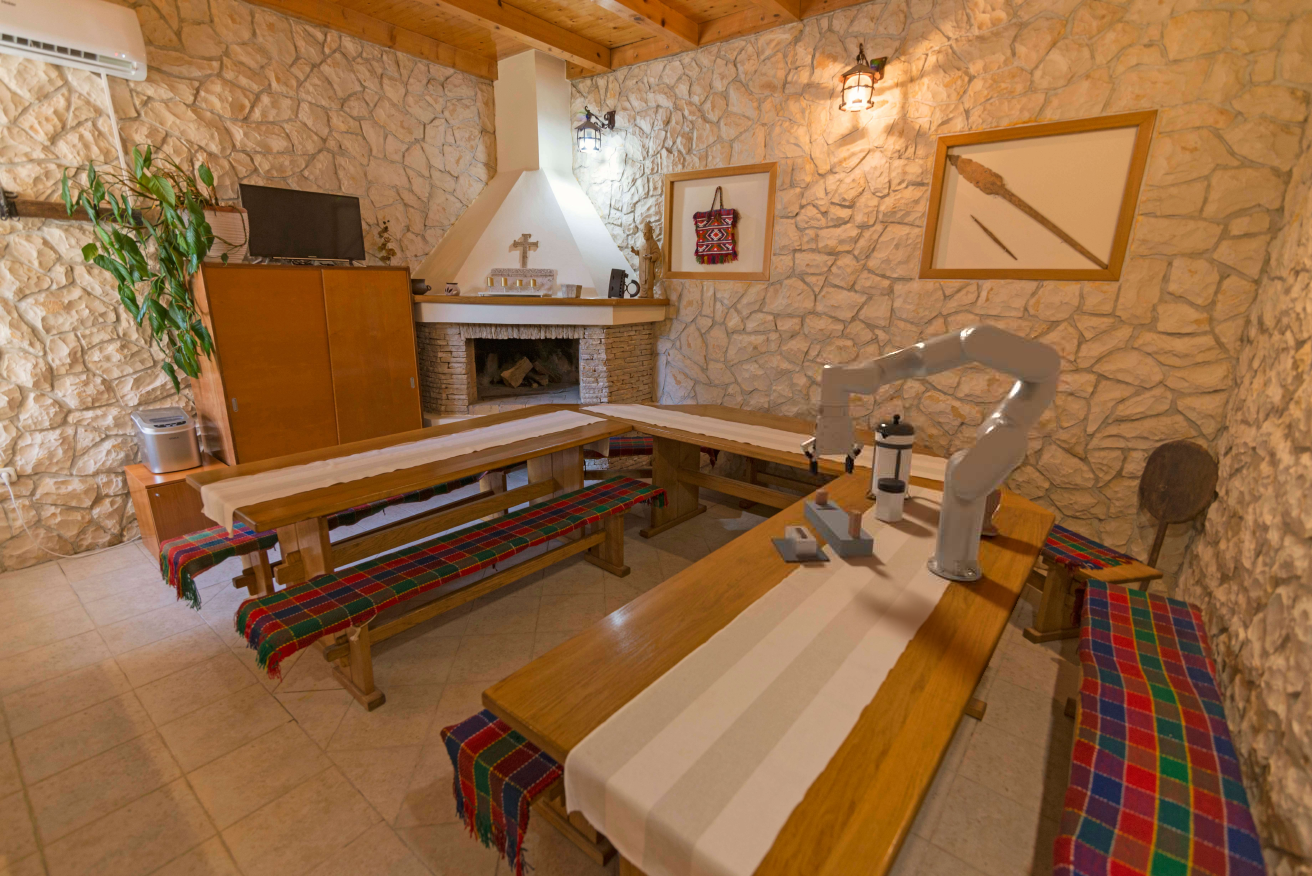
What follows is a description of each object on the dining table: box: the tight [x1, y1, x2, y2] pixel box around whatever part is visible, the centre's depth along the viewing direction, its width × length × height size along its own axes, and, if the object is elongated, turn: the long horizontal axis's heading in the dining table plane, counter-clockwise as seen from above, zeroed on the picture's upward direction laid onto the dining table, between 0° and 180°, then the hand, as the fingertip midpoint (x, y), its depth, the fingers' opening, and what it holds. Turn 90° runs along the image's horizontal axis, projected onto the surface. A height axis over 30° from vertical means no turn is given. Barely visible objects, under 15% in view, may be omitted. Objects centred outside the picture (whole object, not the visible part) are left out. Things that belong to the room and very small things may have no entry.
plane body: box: [803, 488, 875, 558], centre depth 165 cm, size 30×9×12 cm, turn 4°
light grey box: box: [784, 525, 818, 557], centre depth 155 cm, size 10×6×5 cm, turn 4°
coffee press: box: [865, 413, 917, 501], centre depth 194 cm, size 17×16×30 cm
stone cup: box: [981, 486, 1002, 537], centre depth 169 cm, size 15×12×15 cm
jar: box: [874, 478, 906, 523], centre depth 179 cm, size 9×8×12 cm
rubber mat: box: [770, 537, 831, 563], centre depth 156 cm, size 14×12×1 cm
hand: (831, 473), depth 153 cm, fingers open, 9 cm apart
